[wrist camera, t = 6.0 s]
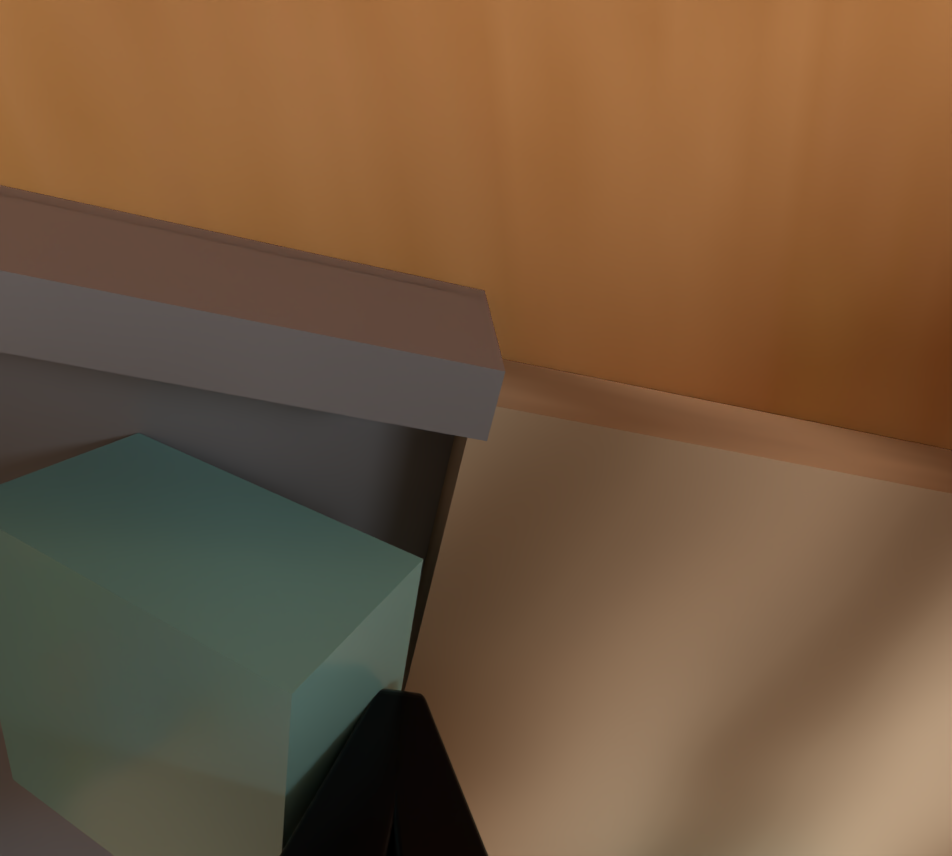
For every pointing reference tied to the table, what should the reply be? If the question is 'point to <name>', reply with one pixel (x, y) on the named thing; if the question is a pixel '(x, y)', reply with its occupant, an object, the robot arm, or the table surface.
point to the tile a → (186, 648)
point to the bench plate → (689, 629)
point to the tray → (230, 380)
